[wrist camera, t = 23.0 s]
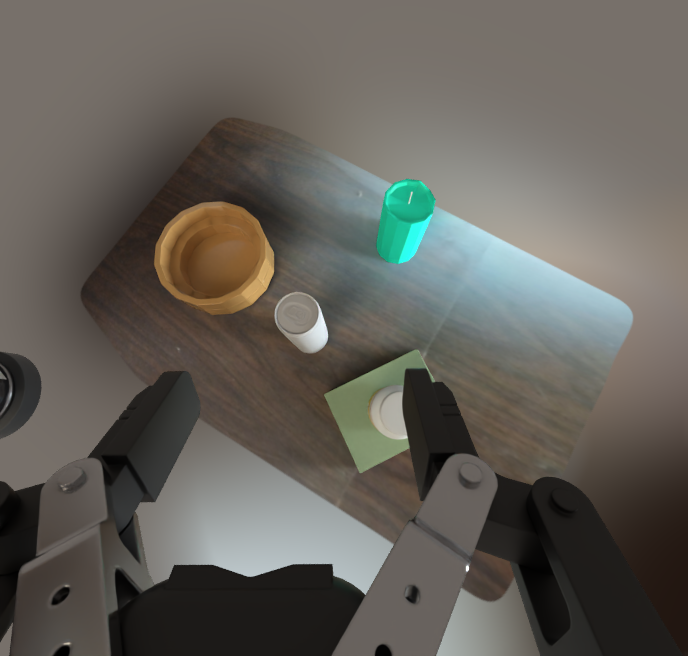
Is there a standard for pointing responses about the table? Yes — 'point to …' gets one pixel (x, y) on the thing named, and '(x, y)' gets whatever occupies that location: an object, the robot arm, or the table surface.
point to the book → (354, 418)
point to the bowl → (214, 258)
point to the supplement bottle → (388, 412)
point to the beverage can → (301, 321)
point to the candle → (404, 220)
